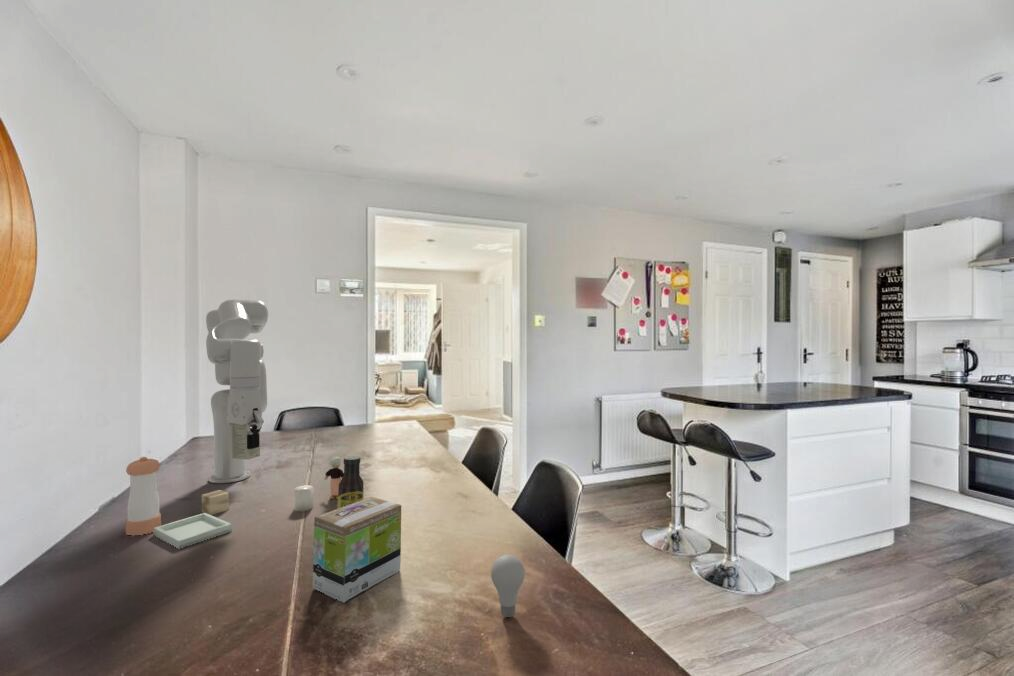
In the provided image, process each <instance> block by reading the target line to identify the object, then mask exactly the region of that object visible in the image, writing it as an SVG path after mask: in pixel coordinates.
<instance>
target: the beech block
mask: <svg viewBox="0 0 1014 676" xmlns="http://www.w3.org/2000/svg"><path fill="white" fill-rule="evenodd" d="M229 499H230V493H229V492H227V491H224V490H221V489H218V490H214V491H210V492H207V493H203V494H201V512H202V513H207V514H209V515H212V516H213V515H216V514H219V513H222V512H225V511H228V510H230V506H229V505H230V501H229Z"/></svg>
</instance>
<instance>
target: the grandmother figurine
mask: <svg viewBox="0 0 1014 676" xmlns="http://www.w3.org/2000/svg"><path fill="white" fill-rule="evenodd" d="M341 460H342V459H341V458H340V457H339V456H334V457H333V458H331V460H330V461H329V466H331V468H330V469H328V470H327V471H326V472H325V474H324V475H325V476H324V479H323V480H328V479H329V478H330V497H329V499H332V500H333V499H336V500H338V493H339V483H340V482H341V480H342V478H343V476H344V470H342V469H340V466H341V462H342V461H341Z"/></svg>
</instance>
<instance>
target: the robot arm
mask: <svg viewBox="0 0 1014 676" xmlns="http://www.w3.org/2000/svg"><path fill="white" fill-rule="evenodd" d="M268 318H269V310H268V308H267V306H266V303H264V302H263V301H261V300H258V299H257V300H254V299H253V300H251V299H248V300H247V299H228V300H225V301H223V302H221V303H220V305H219V307H218V309H213V310H210V311H209V312H207V314H206V317H205V323H206V324H205V325H206V328H207V332H208V333H207V336H206V340H205V342H206V344H205V345H206V354H207V359H208V360H209V362H210V363H211V364H213V365H214V373H215V374H214V375H215V381H216V382H217V384H218V385H220V386H229V389H222V390H218V391H216V392H214V393H213V395H212V396H211V399H210V406H211V413H212V421H213V467H212V470H213V474H212V475H210V476H209V477H208V481H209V482H210V483H212V484H228V483H230V484H231V483H235V482H239V481H243V480H246V479H247V478H249V477H251V472H250V471H249V470H246V459H233V458H232V450H231V423H233V424H237V425H243V426H244V425H247V430H248V435H247V449H253V448H258V447H259V434H260V433H261V429H262V427H263V425H264V418H263V417H262V416H263V413H264V412H265V411H266V410H267V407H268V389H267V388H268V387H267V385H268V384H267V383H268V381H267V369H266V368H267V367H266V365H265V362H264V361H263V360H262V359H263V357H264V345H263V343H261V342H260V340H258V339H256V338H247V337H248V336H250V334H259V333H261V332H262V330H263V329H264V327H265V326H266V325H267V323H268ZM251 421H255V422H253V423H250V422H251ZM251 426H253V428H251Z"/></svg>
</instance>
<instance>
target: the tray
mask: <svg viewBox="0 0 1014 676" xmlns="http://www.w3.org/2000/svg"><path fill="white" fill-rule="evenodd" d="M231 532H232V523H230V522H229V521H227V520H226V521H225V520H224V519H221V518H219V517H216V516H213V515H209V514H207V513H204V512H202V513H200V514H195V515H193V516H190V517H185V518H182V519H178V520H176V521H171V522H170V523H166V524H161V526H158V527H155V528H154V532H153V536H154V535H155V536H156V537H155V536H154V537H155V538H157V537H158V538H157V539H159V538H160V539H159V540H161V539H162V540H164V541H166V542H167V543H166V542H165V543H166V544H168V543H169V544H168V545H170V544H171V545H170V546H172V545H173V546H174V548H175V547H176V549H177V548H178V550H181V549H180V548H182V547H185V546H188V547H190V546H189V545H191V544H194V543H197V542H199V543H202V542H205V541H208V540H211V539H213V537H214V538H216V536H217V537H219V536H222V535H225V534H229V533H231ZM210 538H211V539H210ZM207 539H208V540H207ZM162 540H161V541H162ZM204 540H205V541H204ZM164 541H163V542H164ZM201 541H202V542H201ZM197 544H198V543H197ZM194 545H195V544H194ZM173 546H172V547H173ZM191 546H192V545H191ZM185 548H186V547H185ZM182 549H183V548H182Z"/></svg>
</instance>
